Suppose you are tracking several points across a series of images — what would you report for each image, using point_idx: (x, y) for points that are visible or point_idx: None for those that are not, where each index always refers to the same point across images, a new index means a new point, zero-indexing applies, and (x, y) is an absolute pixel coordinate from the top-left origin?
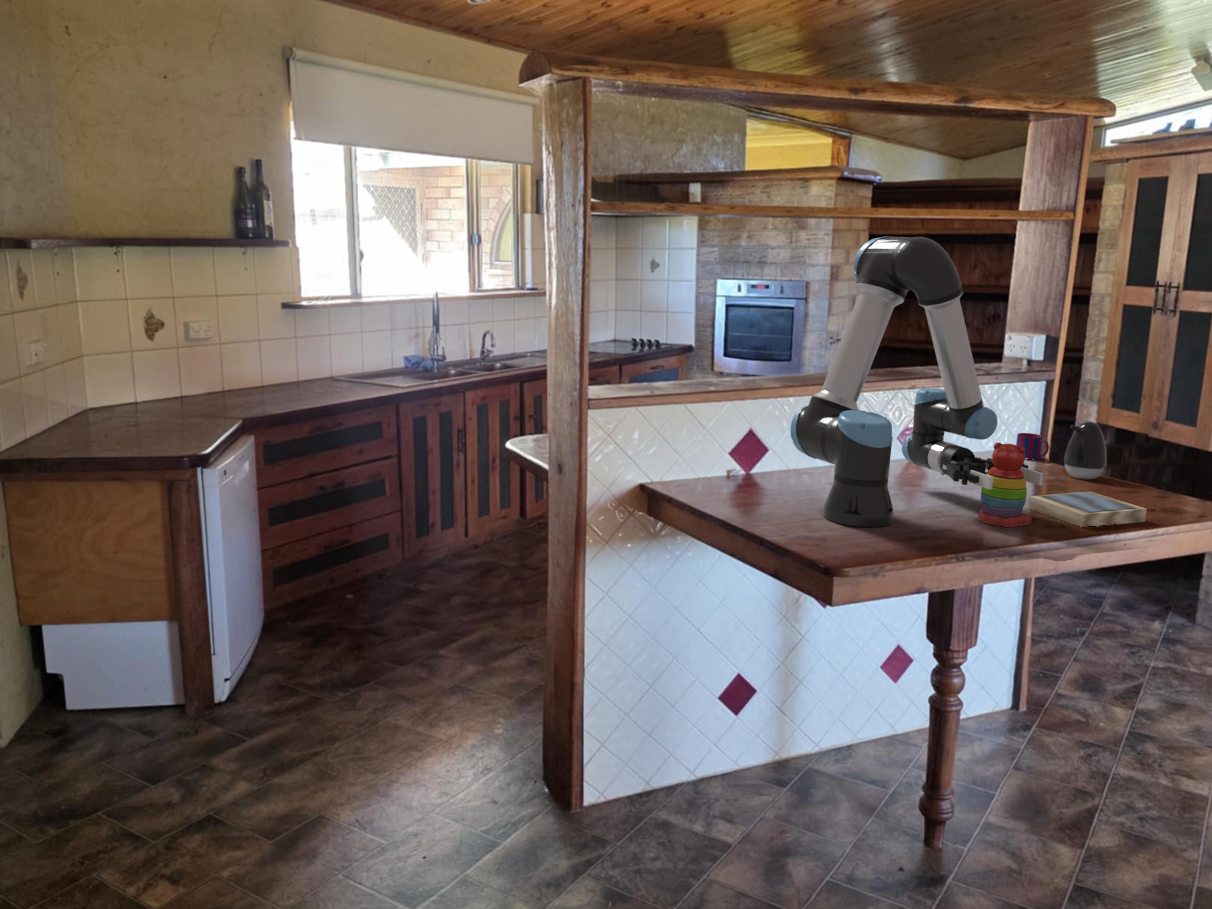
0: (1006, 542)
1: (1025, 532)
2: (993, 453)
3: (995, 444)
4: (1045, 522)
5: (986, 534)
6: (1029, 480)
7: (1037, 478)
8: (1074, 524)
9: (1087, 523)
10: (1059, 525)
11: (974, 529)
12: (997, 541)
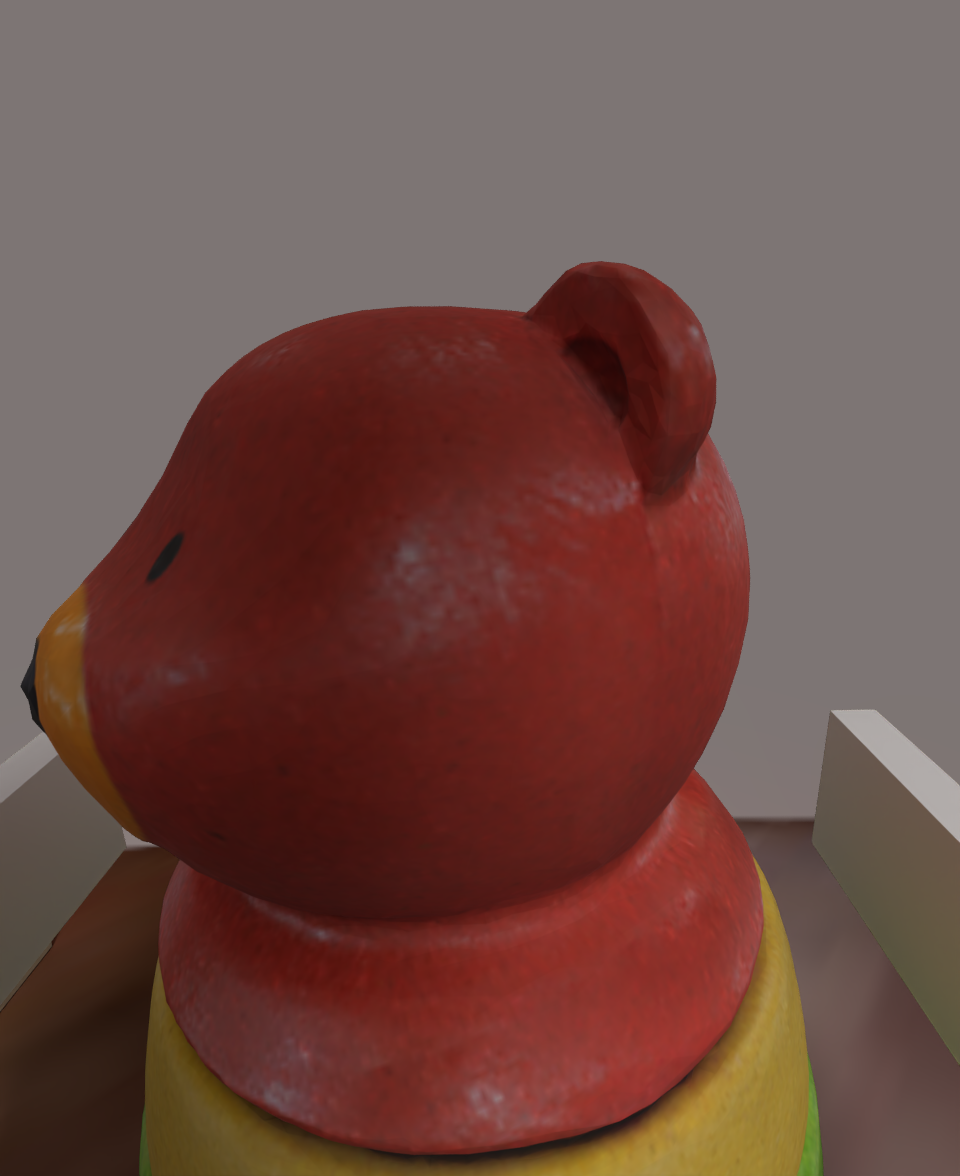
0: (764, 857)
1: None
2: (742, 546)
3: (695, 318)
4: (87, 1146)
5: (848, 1001)
6: (6, 965)
7: (85, 810)
8: (4, 1001)
9: None
10: (102, 1035)
11: (930, 1151)
12: (816, 878)
